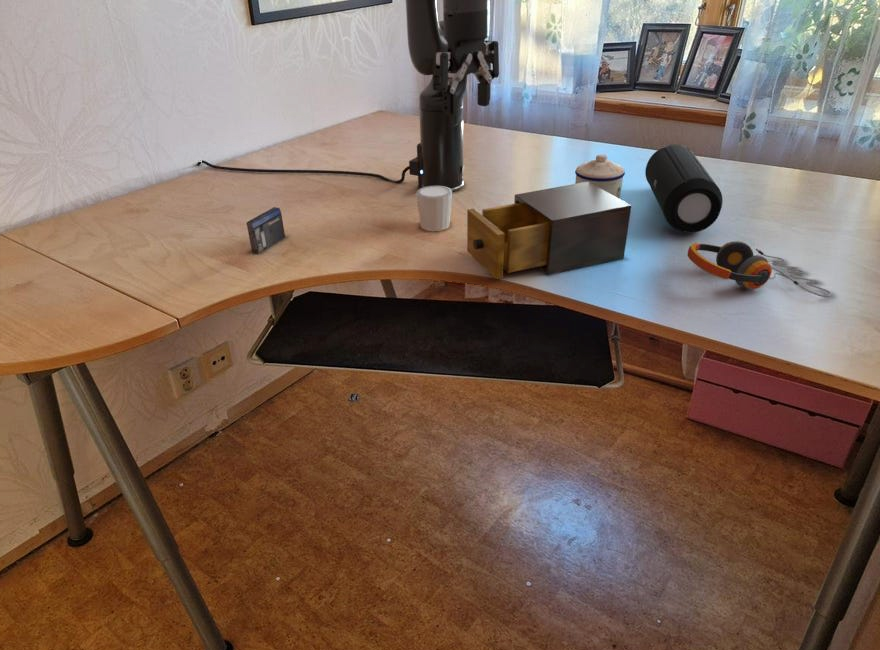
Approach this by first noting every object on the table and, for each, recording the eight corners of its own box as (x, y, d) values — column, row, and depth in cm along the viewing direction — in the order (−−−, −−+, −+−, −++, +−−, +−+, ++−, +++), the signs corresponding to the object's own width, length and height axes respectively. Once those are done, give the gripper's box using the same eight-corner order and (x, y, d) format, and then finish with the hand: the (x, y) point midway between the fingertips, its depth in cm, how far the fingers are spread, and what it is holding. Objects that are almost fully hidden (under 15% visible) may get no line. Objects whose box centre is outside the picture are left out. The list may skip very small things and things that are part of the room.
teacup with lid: (620, 223, 124) (629, 163, 118) (571, 222, 126) (577, 162, 120) (615, 201, 134) (623, 143, 128) (570, 200, 136) (575, 143, 129)
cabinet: (548, 275, 109) (552, 220, 103) (512, 245, 119) (514, 194, 114) (623, 258, 112) (631, 205, 107) (582, 231, 123) (587, 181, 117)
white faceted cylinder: (456, 220, 130) (456, 186, 126) (447, 233, 125) (446, 198, 121) (423, 217, 132) (422, 184, 128) (413, 231, 127) (411, 196, 123)
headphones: (851, 282, 96) (728, 266, 92) (832, 314, 99) (712, 299, 95) (784, 237, 110) (676, 221, 106) (769, 266, 113) (664, 251, 109)
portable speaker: (640, 188, 139) (647, 141, 134) (688, 188, 138) (698, 140, 132) (661, 237, 118) (671, 183, 113) (719, 237, 117) (732, 183, 111)
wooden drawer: (489, 280, 106) (490, 236, 102) (460, 252, 116) (460, 210, 111) (569, 263, 110) (573, 220, 105) (535, 237, 119) (537, 196, 115)
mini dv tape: (258, 253, 122) (252, 223, 119) (252, 252, 123) (246, 222, 119) (285, 237, 128) (280, 207, 124) (279, 236, 128) (274, 206, 125)
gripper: (478, 2, 113) (478, 100, 122) (418, 12, 106) (423, 116, 115) (511, 2, 109) (509, 105, 117) (452, 13, 101) (454, 122, 110)
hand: (467, 110), depth 116 cm, fingers open, 8 cm apart
